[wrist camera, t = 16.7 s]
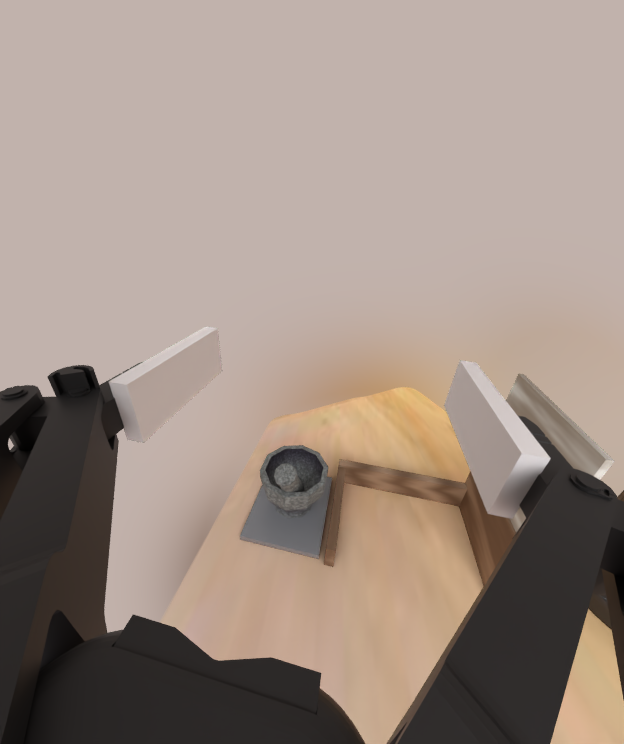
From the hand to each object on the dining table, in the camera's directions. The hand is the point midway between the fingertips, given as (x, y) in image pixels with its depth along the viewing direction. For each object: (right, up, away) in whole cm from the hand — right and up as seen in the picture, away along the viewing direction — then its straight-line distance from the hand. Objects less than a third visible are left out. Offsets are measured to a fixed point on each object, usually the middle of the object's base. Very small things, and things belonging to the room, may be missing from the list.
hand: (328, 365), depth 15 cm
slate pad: (-4, -21, +28) cm, 35 cm away
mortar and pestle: (-4, -21, +27) cm, 35 cm away
